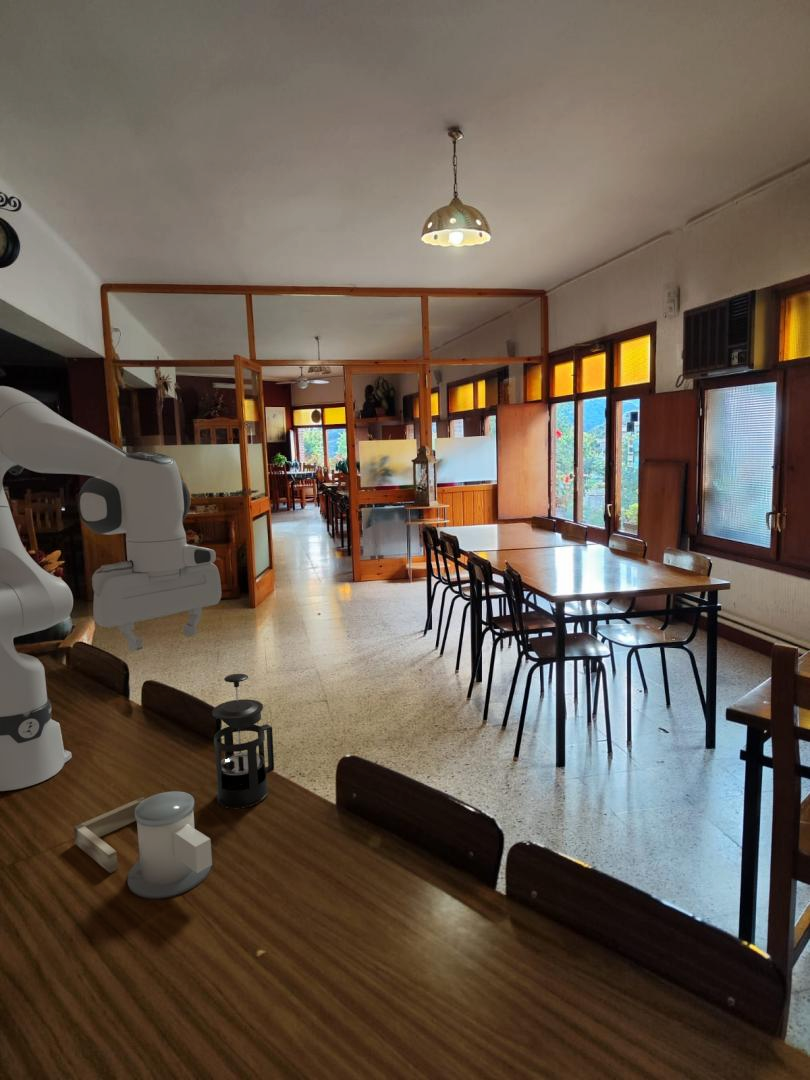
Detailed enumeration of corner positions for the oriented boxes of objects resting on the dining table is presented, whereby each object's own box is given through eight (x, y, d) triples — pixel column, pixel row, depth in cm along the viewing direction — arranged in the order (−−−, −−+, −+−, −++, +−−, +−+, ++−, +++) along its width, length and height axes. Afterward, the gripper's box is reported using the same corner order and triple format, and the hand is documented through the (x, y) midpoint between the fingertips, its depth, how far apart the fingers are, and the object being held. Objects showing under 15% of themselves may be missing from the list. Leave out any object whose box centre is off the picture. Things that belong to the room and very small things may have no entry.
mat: (112, 875, 99) (112, 872, 99) (184, 839, 108) (184, 836, 108) (154, 910, 92) (153, 906, 92) (227, 868, 101) (227, 864, 101)
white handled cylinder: (129, 869, 100) (124, 808, 98) (179, 844, 106) (175, 785, 105) (179, 910, 91) (174, 843, 89) (231, 880, 97) (227, 816, 96)
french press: (228, 816, 115) (220, 690, 112) (204, 796, 122) (196, 676, 119) (286, 792, 123) (280, 673, 120) (260, 774, 130) (254, 661, 127)
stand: (75, 844, 108) (73, 826, 107) (144, 812, 117) (142, 796, 116) (110, 873, 100) (108, 854, 100) (181, 837, 109) (179, 820, 109)
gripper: (101, 568, 93) (109, 662, 95) (224, 550, 109) (229, 631, 111) (81, 564, 97) (89, 654, 99) (202, 547, 113) (207, 625, 115)
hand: (163, 642), depth 105 cm, fingers open, 8 cm apart
